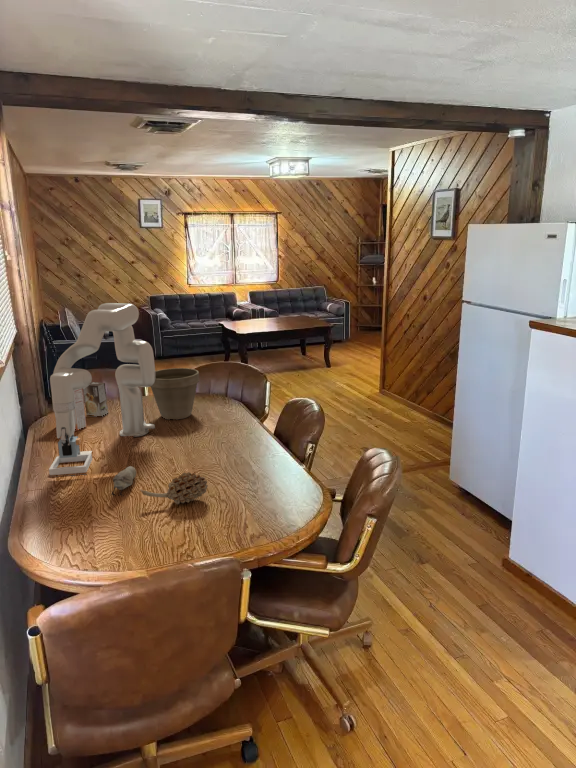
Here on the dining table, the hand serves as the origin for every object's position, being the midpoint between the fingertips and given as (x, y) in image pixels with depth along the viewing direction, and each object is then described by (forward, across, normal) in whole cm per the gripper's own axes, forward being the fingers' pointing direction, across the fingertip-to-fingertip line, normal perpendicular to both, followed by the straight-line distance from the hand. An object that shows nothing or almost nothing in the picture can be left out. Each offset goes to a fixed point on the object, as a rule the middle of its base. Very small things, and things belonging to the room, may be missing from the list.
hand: (69, 451), depth 212 cm
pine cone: (+8, +36, +40) cm, 54 cm away
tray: (+7, 0, 0) cm, 7 cm away
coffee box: (+7, -72, -1) cm, 72 cm away
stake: (+7, -12, 0) cm, 14 cm away
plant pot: (+7, -62, +38) cm, 73 cm away
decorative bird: (+8, +21, +22) cm, 31 cm away
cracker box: (+7, -54, -10) cm, 55 cm away
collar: (+1, 0, 0) cm, 1 cm away
